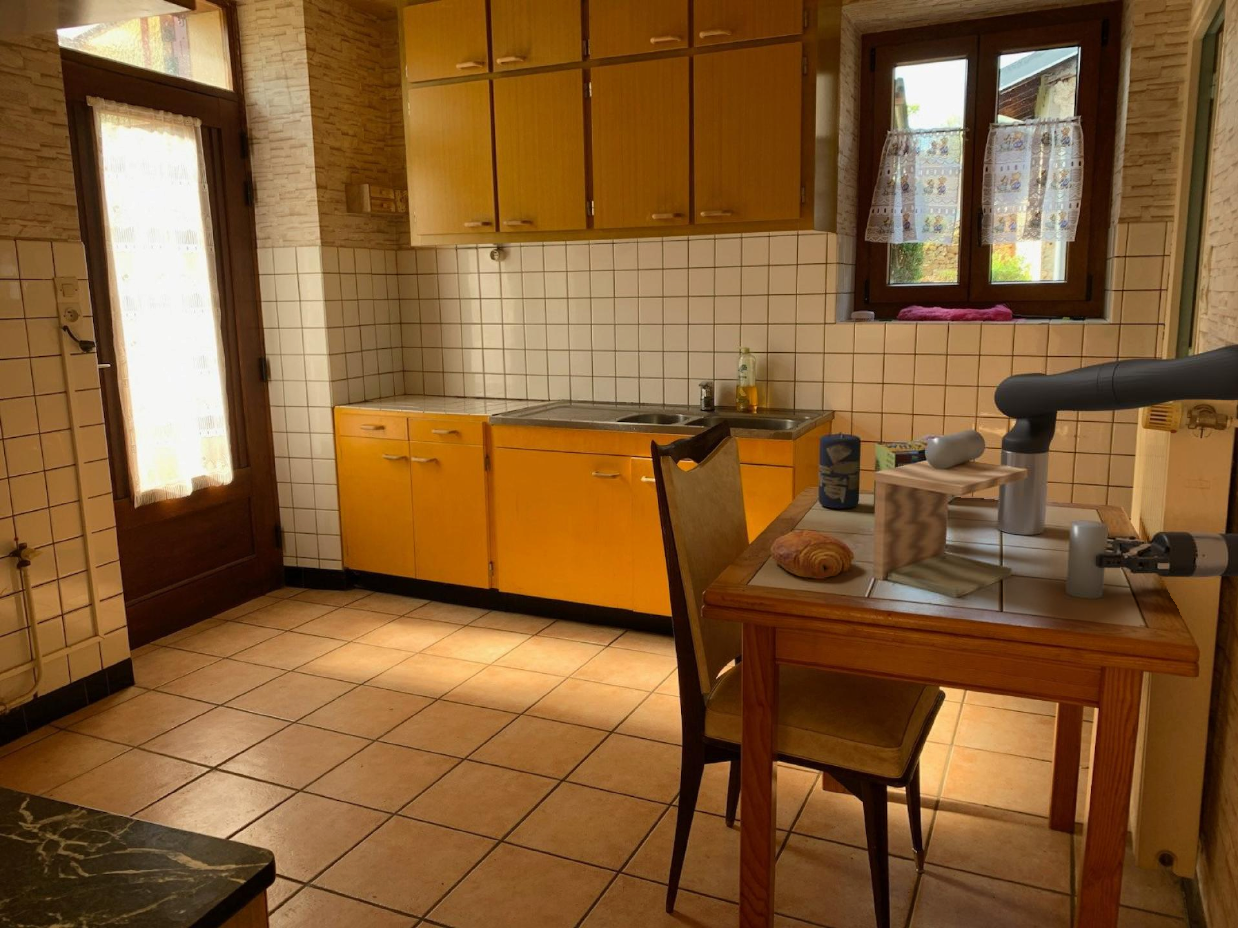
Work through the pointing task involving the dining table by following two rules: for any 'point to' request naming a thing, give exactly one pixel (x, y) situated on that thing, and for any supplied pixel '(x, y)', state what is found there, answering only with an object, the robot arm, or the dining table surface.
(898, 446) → the protein box
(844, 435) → the canister
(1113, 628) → the dining table surface
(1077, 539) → the grey rounded cylinder
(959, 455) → the grey lying cylinder
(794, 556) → the croissant
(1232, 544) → the robot arm
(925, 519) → the wooden shelf stand
